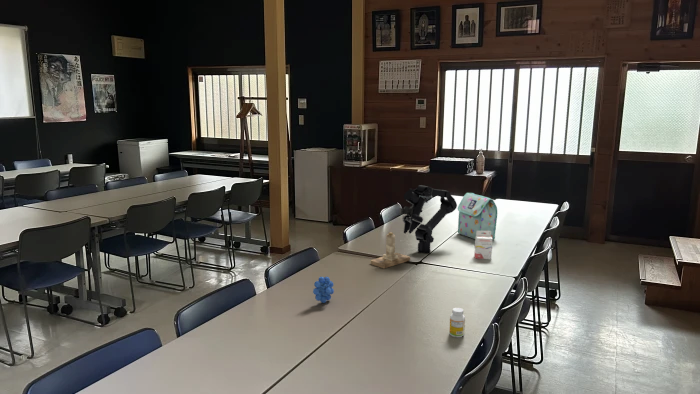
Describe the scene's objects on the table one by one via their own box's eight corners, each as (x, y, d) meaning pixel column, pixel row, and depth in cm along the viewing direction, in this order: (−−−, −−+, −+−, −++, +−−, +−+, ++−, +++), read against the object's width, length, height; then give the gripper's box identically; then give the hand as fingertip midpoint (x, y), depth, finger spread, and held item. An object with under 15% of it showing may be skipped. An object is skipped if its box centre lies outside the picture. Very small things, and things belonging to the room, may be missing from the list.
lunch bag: (454, 233, 326) (455, 192, 321) (474, 230, 333) (476, 190, 328) (477, 242, 306) (479, 198, 301) (498, 239, 313) (501, 196, 308)
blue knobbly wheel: (321, 309, 208) (320, 281, 206) (309, 305, 213) (309, 278, 211) (340, 301, 217) (340, 274, 215) (329, 297, 221) (329, 271, 219)
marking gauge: (389, 256, 273) (389, 231, 270) (397, 258, 268) (398, 233, 266) (382, 258, 269) (383, 232, 267) (391, 260, 265) (391, 234, 262)
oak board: (396, 256, 279) (396, 252, 279) (410, 260, 272) (410, 256, 272) (370, 263, 266) (370, 260, 266) (384, 268, 259) (384, 264, 259)
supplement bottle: (453, 329, 190) (454, 305, 189) (466, 334, 187) (468, 309, 185) (446, 334, 186) (447, 310, 184) (460, 339, 183) (461, 313, 181)
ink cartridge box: (475, 258, 275) (476, 232, 272) (474, 256, 280) (475, 230, 277) (491, 259, 274) (493, 233, 271) (490, 256, 279) (491, 230, 276)
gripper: (399, 202, 286) (389, 227, 284) (409, 200, 268) (398, 227, 266) (416, 210, 288) (406, 235, 286) (427, 208, 269) (417, 235, 267)
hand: (406, 233), depth 276 cm, fingers open, 9 cm apart
